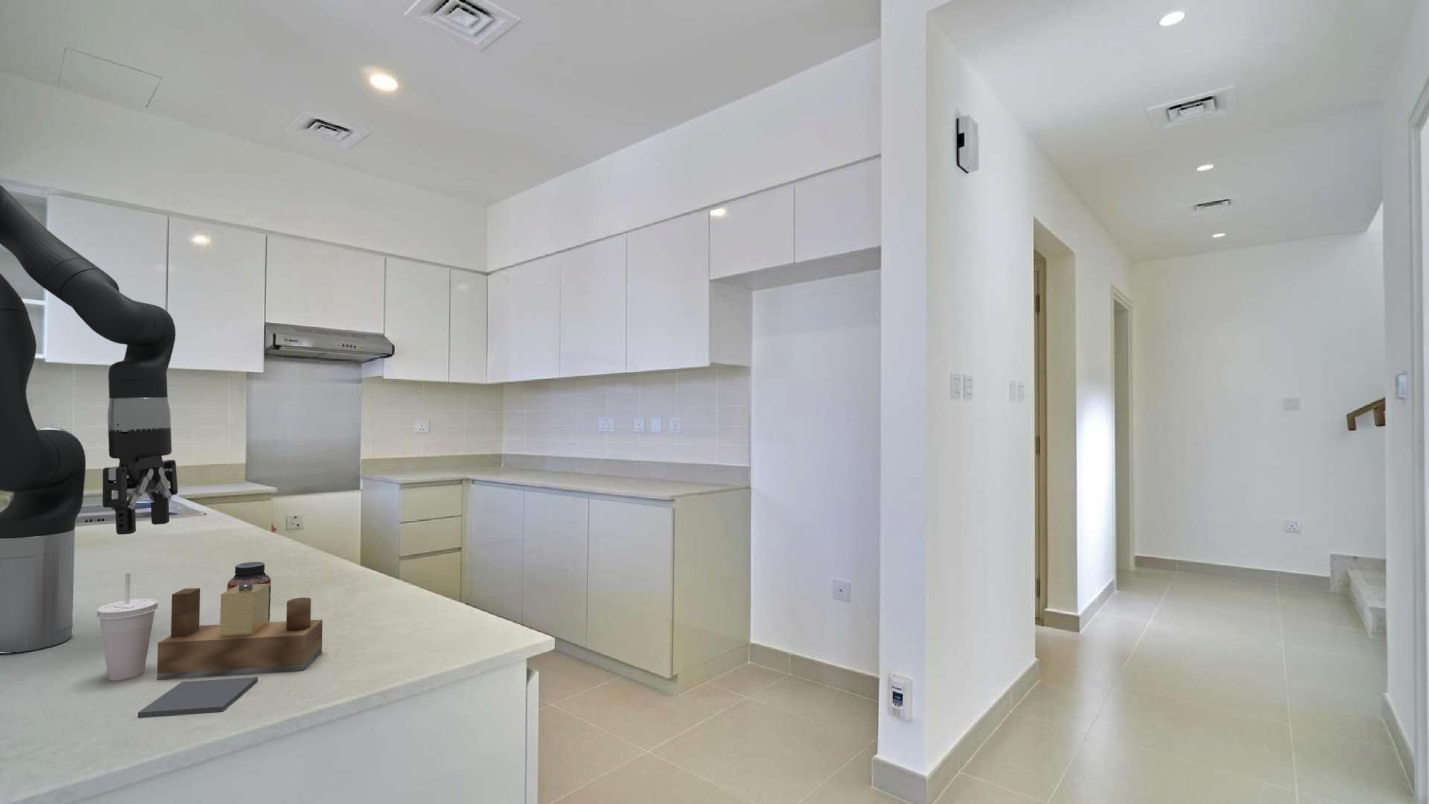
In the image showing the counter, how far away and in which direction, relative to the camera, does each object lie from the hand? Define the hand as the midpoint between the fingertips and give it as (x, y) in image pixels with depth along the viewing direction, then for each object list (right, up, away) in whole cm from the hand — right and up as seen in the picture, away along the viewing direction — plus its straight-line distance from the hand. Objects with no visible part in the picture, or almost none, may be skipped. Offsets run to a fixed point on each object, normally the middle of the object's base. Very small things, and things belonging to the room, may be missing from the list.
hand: (144, 528), depth 104 cm
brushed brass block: (+23, -13, -10) cm, 28 cm away
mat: (+25, -18, -20) cm, 37 cm away
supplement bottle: (+14, -18, +4) cm, 23 cm away
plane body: (+23, -18, -10) cm, 30 cm away
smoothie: (+9, -18, -13) cm, 24 cm away
